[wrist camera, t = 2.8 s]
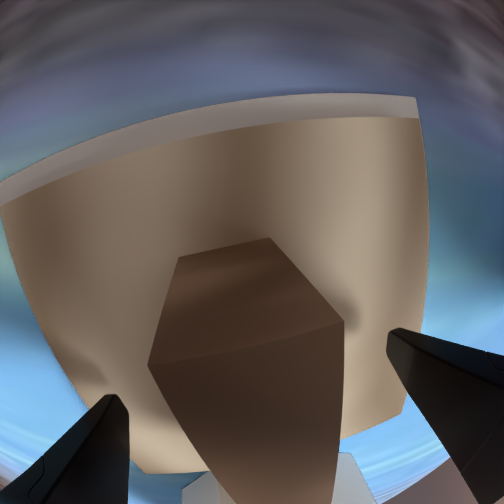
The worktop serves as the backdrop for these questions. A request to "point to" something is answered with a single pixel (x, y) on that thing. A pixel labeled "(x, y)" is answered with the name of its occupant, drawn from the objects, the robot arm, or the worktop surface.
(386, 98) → the tray
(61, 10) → the worktop surface
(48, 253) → the lid
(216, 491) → the bowl
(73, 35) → the worktop surface
